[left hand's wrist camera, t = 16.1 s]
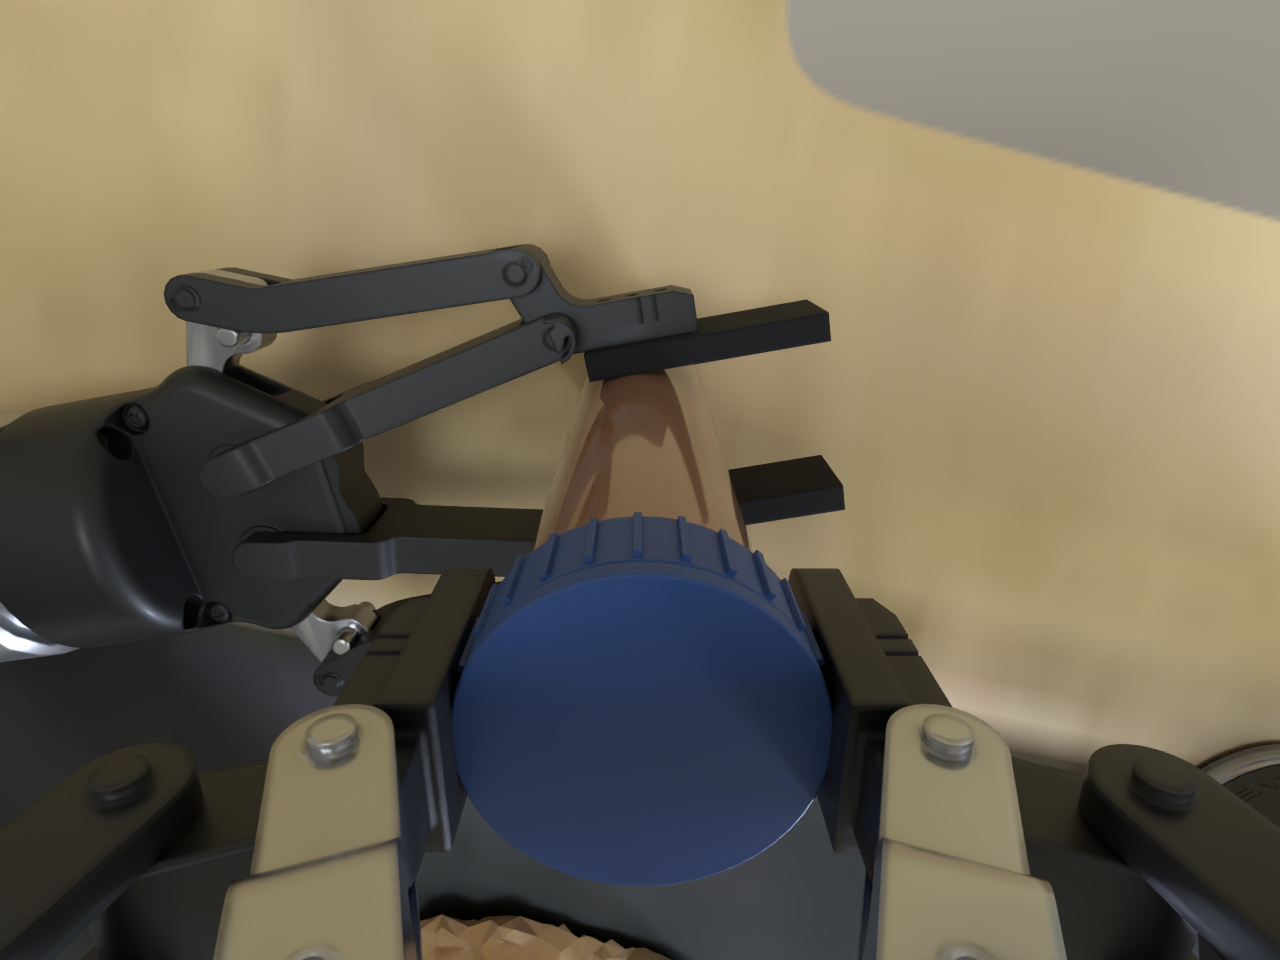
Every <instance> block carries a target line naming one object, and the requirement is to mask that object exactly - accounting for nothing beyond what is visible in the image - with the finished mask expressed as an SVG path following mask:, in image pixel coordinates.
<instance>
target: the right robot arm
mask: <svg viewBox="0 0 1280 960" xmlns="http://www.w3.org/2000/svg"><path fill="white" fill-rule="evenodd" d="M164 297H165V302H166V304H167V306H168V307H169V309H170V311H171V312H172V313H173V314H175V315H176V316H177V317H178V318H180V319H182V320H185V321H187V367H183V368H181V369H178V370H176V371H174V372H173V373H171V374H170V375H169V376H168V377H167V378H166V379H165V380H164V381H163V382H162V383H161V384H160V385H159V386H157V387H155V388H149V389H144V390H138V391H132V392H127V393H121V394H115V395H110V396H104V397H98V398H93V399H87V400H82V401H76V402H70V403H65V404H59V405H53V406H48V407H43V408H40V409H36V410H33V411H31V412H28V413H7V414H2V415H0V662H7V661H14V660H21V659H29V658H36V657H43V656H51V655H58V654H64V653H67V652H70V651H73V650H76V649H79V648H98V647H104V646H110V645H117V644H123V643H130V642H136V641H143V640H149V639H155V638H162V637H168V636H175V635H181V634H187V633H192V632H196V631H200V630H204V629H208V628H211V627H215V626H218V625H222V624H226V623H230V622H246V623H251V624H256V625H259V626H263V627H266V628H271V629H285V628H291V629H292V630H293V632H294V633H295V634H296V635H297V636H298V637H299V638H300V639H301V640H302V642H303V643H304V644H305V645H306V646H307V647H308V648H309V649H310V650H311V652H312V653H313V654H314V655H315V656H316V657H317V658H318V659H319V660H320V662H321V664H320V665H319V667H318V668H317V669H316V671H315V673H314V676H313V679H314V684H315V685H316V687H317V689H318V690H320V691H321V692H322V693H324V694H327V695H329V696H339V695H340V694H341V692H342V690H343V689H344V687H345V685H346V684H347V682H348V681H349V679H350V677H351V676H352V674H353V672H354V671H355V669H356V667H357V666H358V664H359V662H360V661H361V659H362V657H363V656H364V655H366V651H367V649H368V647H369V646H370V644H371V643H372V641H373V639H374V638H376V634H377V633H378V631H379V629H380V628H381V626H382V624H383V623H384V621H385V619H386V618H387V616H388V615H389V614H390V613H391V612H393V611H394V610H396V609H397V608H398V607H400V606H401V605H402V604H404V603H405V602H406V601H408V600H409V599H411V598H429V597H430V596H431V594H428V595H422V596H417V597H411V598H407V599H403V600H398V601H396V602H393V603H390V604H387V605H385V606H383V607H381V608H379V609H377V610H375V607H374V605H373V604H372V603H370V602H362V603H360V604H354V605H350V606H347V607H338V606H334V605H332V604H330V603H328V602H327V601H326V600H325V598H326V597H327V596H328V595H329V594H330V593H331V592H332V590H333V589H334V588H335V587H336V586H337V585H338V584H339V583H340V582H341V581H342V580H343V579H354V580H380V579H384V578H387V577H389V576H392V575H394V574H398V573H416V574H442V573H443V571H444V570H445V569H446V568H492V570H493V572H494V576H499V577H506V576H507V575H508V574H509V572H510V571H511V570H512V568H513V566H514V563H515V560H516V558H517V557H518V556H519V555H522V556H523V557H524V558H525V557H526V556H527V555H528V554H529V553H530V551H531V548H532V544H533V541H534V538H535V535H536V532H537V529H538V526H539V523H540V519H541V516H542V513H543V510H539V509H512V508H485V507H458V506H432V505H418V504H416V503H415V502H414V501H413V500H410V499H404V498H380V496H379V493H378V491H377V490H376V488H375V486H374V485H373V483H372V482H371V480H370V479H369V477H368V475H367V474H366V472H365V470H364V451H363V444H362V441H364V440H366V439H368V438H371V437H373V436H376V435H378V434H381V433H383V432H386V431H388V430H391V429H393V428H395V427H398V426H400V425H403V424H405V423H408V422H410V421H413V420H415V419H417V418H420V417H422V416H425V415H427V414H430V413H432V412H435V411H437V410H440V409H442V408H444V407H447V406H449V405H452V404H454V403H457V402H459V401H462V400H464V399H467V398H469V397H471V396H474V395H476V394H479V393H481V392H484V391H486V390H489V389H491V388H493V387H496V386H498V385H501V384H503V383H506V382H508V381H511V380H513V379H516V378H518V377H520V376H523V375H525V374H528V373H530V372H533V371H535V370H538V369H540V368H542V367H545V366H547V365H550V364H552V363H555V362H557V361H561V364H563V363H564V362H566V361H567V360H569V359H570V357H571V356H572V354H576V353H582V352H585V353H584V358H585V363H586V368H587V373H588V378H589V382H594V381H600V380H606V379H612V378H618V377H624V376H629V375H635V374H641V373H647V372H653V371H659V370H664V369H670V368H676V367H682V366H688V365H694V364H699V363H705V362H711V361H717V360H723V359H729V358H734V357H740V356H746V355H752V354H758V353H763V352H769V351H775V350H781V349H787V348H793V347H798V346H804V345H810V344H816V343H822V342H828V341H831V335H830V323H829V312H827V311H825V310H824V309H822V308H820V307H818V306H817V305H815V304H813V303H812V302H810V301H808V300H802V301H796V302H790V303H785V304H779V305H773V306H767V307H762V308H756V309H750V310H745V311H739V312H733V313H727V314H722V315H716V316H710V317H705V318H699V319H697V317H696V310H695V303H694V296H693V294H692V292H691V290H690V289H686V288H682V287H677V286H673V285H670V286H665V287H659V288H653V289H648V290H642V291H638V292H631V293H625V294H620V295H614V296H609V297H603V298H597V299H592V300H583V299H578V298H576V297H574V296H572V295H570V294H569V293H568V292H567V291H566V290H565V289H564V287H563V286H562V285H561V283H560V281H559V280H558V278H557V276H556V274H555V273H554V271H553V269H552V268H551V266H550V262H549V260H548V257H547V255H546V253H545V252H544V251H543V250H542V249H541V248H539V247H537V246H535V245H531V244H523V245H517V246H510V247H504V248H497V249H491V250H484V251H478V252H471V253H465V254H458V255H452V256H445V257H439V258H432V259H426V260H419V261H413V262H406V263H400V264H393V265H387V266H380V267H374V268H367V269H361V270H354V271H348V272H341V273H335V274H328V275H322V276H315V277H309V278H302V279H296V280H292V279H287V278H282V277H277V276H272V275H268V274H263V273H258V272H253V271H248V270H243V269H239V268H222V269H215V270H209V271H203V272H197V273H190V274H184V275H178V276H176V277H174V278H172V279H170V280H169V282H168V283H167V284H166V286H165V291H164ZM503 299H510V300H511V302H512V303H513V305H514V306H515V308H516V310H517V311H518V313H519V314H520V316H521V318H522V319H520V320H518V321H515V322H513V323H511V324H508V325H506V326H503V327H501V328H499V329H496V330H494V331H491V332H489V333H487V334H484V335H482V336H480V337H477V338H475V339H472V340H470V341H468V342H465V343H463V344H460V345H458V346H456V347H453V348H451V349H449V350H446V351H444V352H441V353H439V354H437V355H434V356H432V357H429V358H427V359H425V360H422V361H420V362H418V363H415V364H413V365H410V366H408V367H406V368H403V369H401V370H398V371H396V372H394V373H391V374H389V375H387V376H384V377H382V378H379V379H377V380H375V381H372V382H367V383H364V384H362V385H359V386H357V387H355V388H352V389H350V390H348V391H345V392H343V393H340V394H338V395H336V396H333V397H331V398H328V399H326V400H324V401H320V400H318V399H315V398H313V397H311V396H308V395H306V394H304V393H302V392H299V391H297V390H295V389H293V388H290V387H288V386H286V385H284V384H281V383H279V382H277V381H275V380H272V379H270V378H268V377H266V376H263V375H261V374H259V373H257V372H254V371H252V370H250V369H248V368H245V367H243V366H241V365H239V361H240V358H241V356H242V354H245V353H251V352H253V351H256V350H259V349H261V348H264V347H266V346H269V345H270V344H272V343H273V342H274V340H275V338H276V337H277V333H282V332H290V331H297V330H304V329H310V328H317V327H324V326H330V325H337V324H344V323H350V322H357V321H364V320H370V319H377V318H384V317H390V316H397V315H403V314H410V313H417V312H423V311H430V310H437V309H443V308H450V307H457V306H463V305H470V304H477V303H483V302H490V301H497V300H503ZM728 472H729V475H730V478H731V481H732V484H733V487H734V491H735V494H736V497H737V500H738V503H739V506H740V509H741V513H742V516H743V519H744V522H745V525H749V524H756V523H762V522H769V521H775V520H781V519H788V518H794V517H800V516H807V515H813V514H820V513H826V512H832V511H839V510H845V505H844V492H843V485H842V483H841V482H840V481H839V479H838V478H837V476H836V475H835V474H834V472H833V471H832V469H831V468H830V467H829V465H828V464H827V462H826V461H825V460H824V458H823V457H822V455H818V456H812V457H805V458H799V459H793V460H787V461H781V462H774V463H768V464H762V465H756V466H750V467H743V468H737V469H731V470H728ZM501 582H502V581H499V582H495V584H496V585H498V586H499V585H500V583H501Z"/></svg>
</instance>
